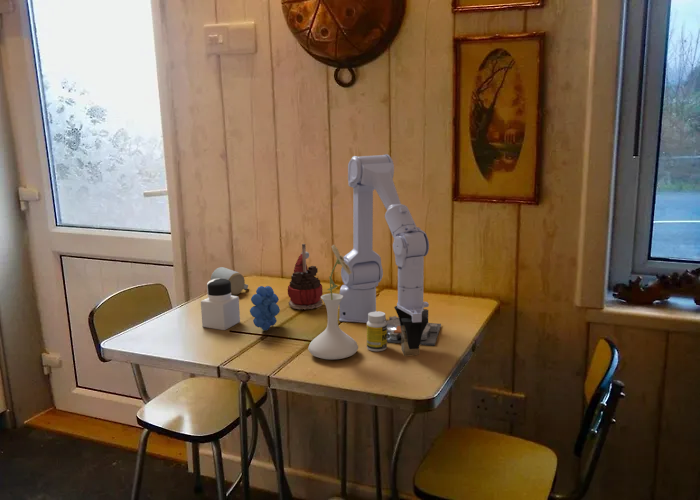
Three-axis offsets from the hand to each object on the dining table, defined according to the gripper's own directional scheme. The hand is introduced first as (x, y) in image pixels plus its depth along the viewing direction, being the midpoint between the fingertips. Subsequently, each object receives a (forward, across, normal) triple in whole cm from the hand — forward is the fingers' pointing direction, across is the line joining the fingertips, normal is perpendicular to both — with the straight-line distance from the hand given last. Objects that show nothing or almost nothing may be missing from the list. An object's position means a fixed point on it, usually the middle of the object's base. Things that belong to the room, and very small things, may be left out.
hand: (410, 342), depth 149 cm
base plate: (+2, +12, -2) cm, 13 cm away
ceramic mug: (+2, +55, +44) cm, 71 cm away
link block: (+2, 0, 0) cm, 3 cm away
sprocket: (+2, +12, -2) cm, 13 cm away
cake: (+2, +38, +22) cm, 44 cm away
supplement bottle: (+3, +4, +7) cm, 9 cm away
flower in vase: (+3, +2, +17) cm, 18 cm away
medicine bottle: (+2, +26, +45) cm, 52 cm away
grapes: (+2, +19, +32) cm, 38 cm away
